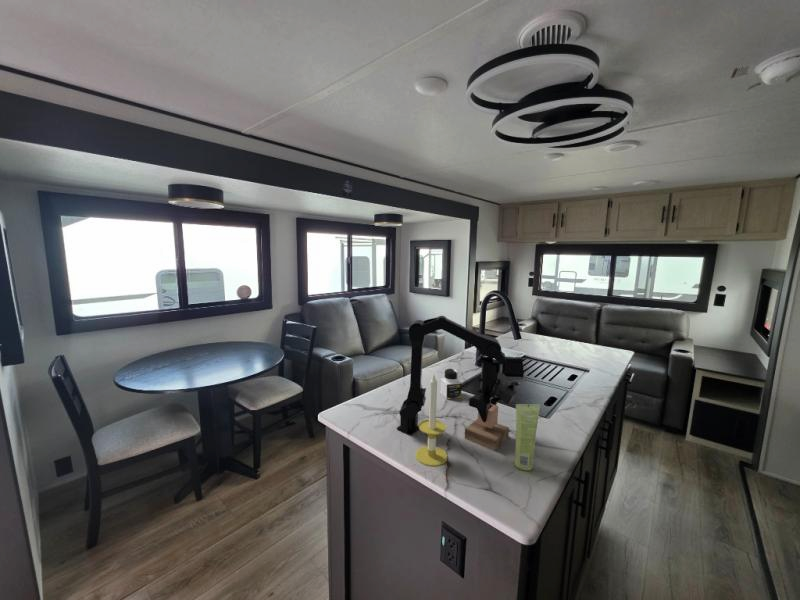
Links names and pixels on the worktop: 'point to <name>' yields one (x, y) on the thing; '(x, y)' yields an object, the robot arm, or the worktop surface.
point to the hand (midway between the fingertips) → (487, 418)
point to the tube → (526, 434)
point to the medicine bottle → (451, 384)
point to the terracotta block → (490, 417)
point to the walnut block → (487, 435)
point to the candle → (432, 433)
